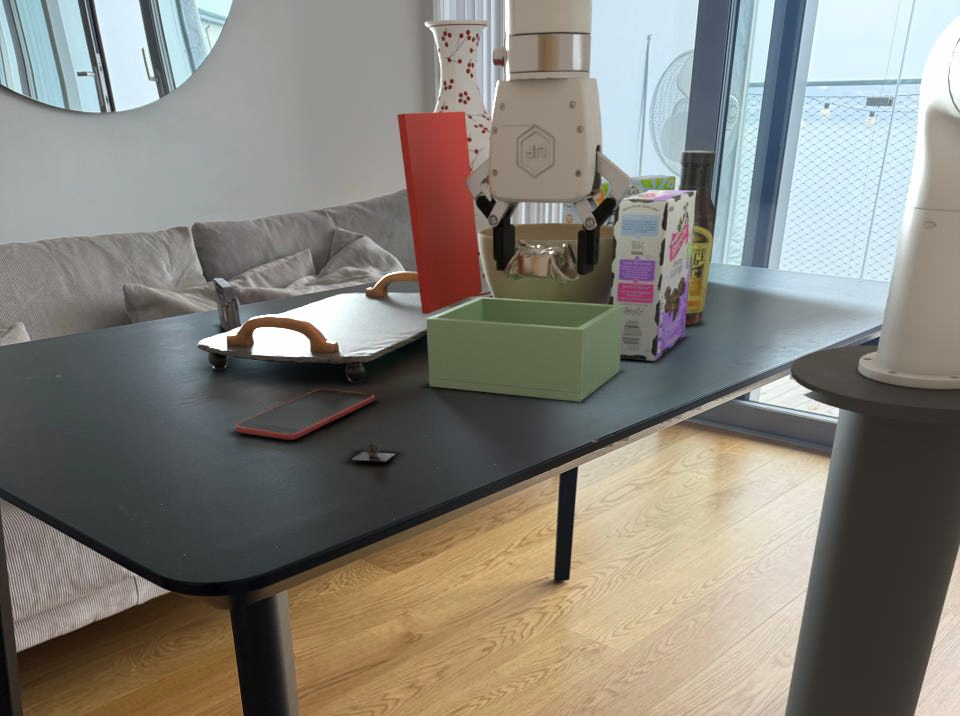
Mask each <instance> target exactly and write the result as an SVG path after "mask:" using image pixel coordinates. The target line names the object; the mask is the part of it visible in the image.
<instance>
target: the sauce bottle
mask: <svg viewBox="0 0 960 716" xmlns="http://www.w3.org/2000/svg"><path fill="white" fill-rule="evenodd" d="M680 153H681V154H680V159H679V163H680V175H679V184H678V186H677V191H696V202H695V214H694V227H693V239H692V251H691V263H690V275H689V287H688V300H687V311H686V323H685V327H689V326H690V327H691V326H695V325H696V324H699V323H700V322H701V321H702V318H703V313H704V310H705V304H706V294H707V286H708V278H709V272H710V265H711V257H712V250H713V243H714V230H715V223H716V217H717V211H716V207H715V205H714V201H713V200H712V197H711V194H710V192H711V179H712V172H713V167H714V165H715V161H716V151H713V150H682V151H681V152H680Z"/></svg>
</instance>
